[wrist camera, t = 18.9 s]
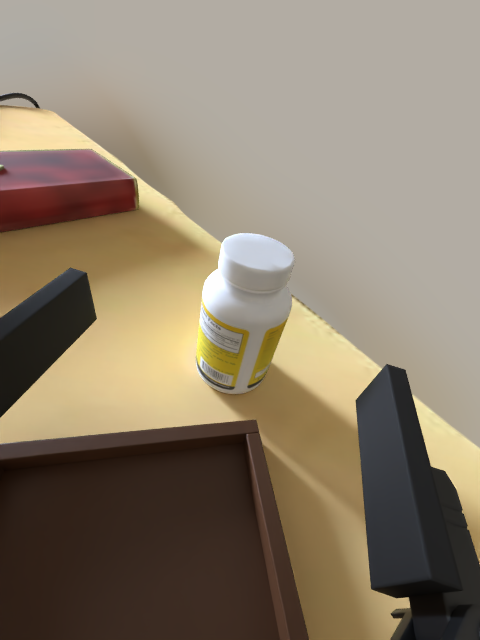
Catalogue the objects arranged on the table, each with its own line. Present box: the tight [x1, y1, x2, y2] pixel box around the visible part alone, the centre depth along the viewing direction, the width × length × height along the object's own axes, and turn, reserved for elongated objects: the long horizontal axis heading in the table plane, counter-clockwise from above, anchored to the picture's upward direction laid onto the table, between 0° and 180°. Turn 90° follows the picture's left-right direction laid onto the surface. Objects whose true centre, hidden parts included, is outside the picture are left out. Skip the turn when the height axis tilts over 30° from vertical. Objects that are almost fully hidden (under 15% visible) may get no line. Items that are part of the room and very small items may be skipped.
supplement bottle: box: [196, 233, 295, 394], centre depth 18 cm, size 5×5×10 cm
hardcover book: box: [0, 149, 139, 232], centre depth 32 cm, size 12×21×4 cm, turn 135°
